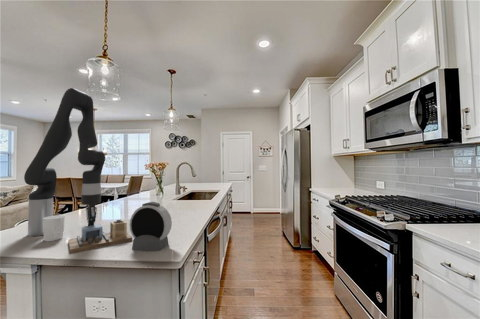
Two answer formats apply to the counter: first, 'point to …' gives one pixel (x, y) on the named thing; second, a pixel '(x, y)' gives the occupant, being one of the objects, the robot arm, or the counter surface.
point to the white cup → (53, 227)
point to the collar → (118, 229)
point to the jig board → (95, 245)
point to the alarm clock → (150, 227)
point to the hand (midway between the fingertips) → (90, 230)
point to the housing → (91, 231)
